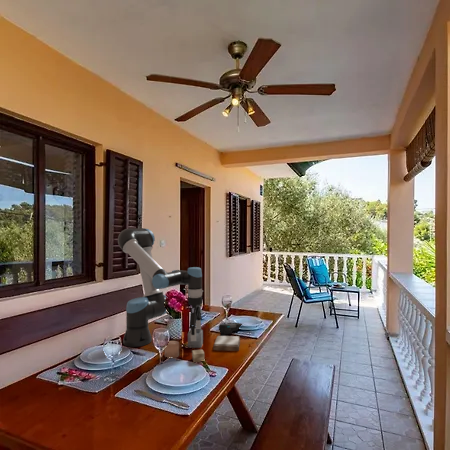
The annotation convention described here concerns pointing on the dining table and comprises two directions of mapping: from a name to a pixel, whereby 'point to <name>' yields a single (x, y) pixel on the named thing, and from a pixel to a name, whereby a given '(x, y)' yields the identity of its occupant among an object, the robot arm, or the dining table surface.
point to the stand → (227, 343)
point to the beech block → (197, 355)
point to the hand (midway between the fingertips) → (196, 336)
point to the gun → (228, 328)
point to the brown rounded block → (172, 349)
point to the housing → (198, 341)
